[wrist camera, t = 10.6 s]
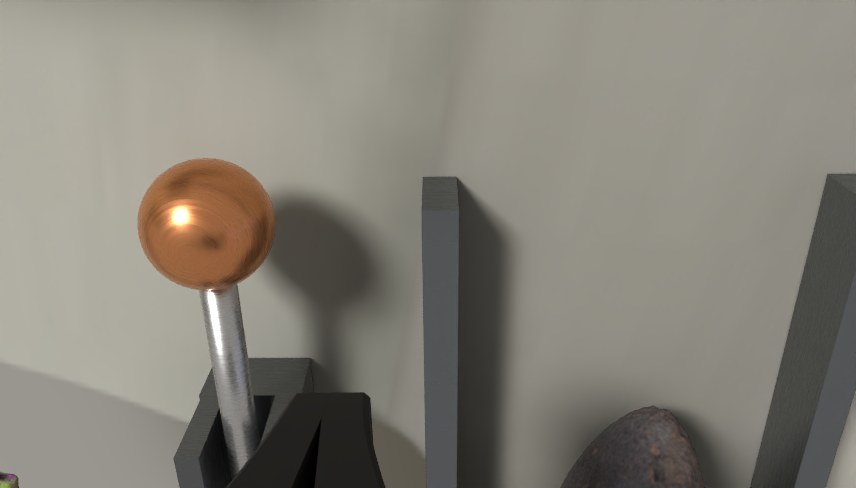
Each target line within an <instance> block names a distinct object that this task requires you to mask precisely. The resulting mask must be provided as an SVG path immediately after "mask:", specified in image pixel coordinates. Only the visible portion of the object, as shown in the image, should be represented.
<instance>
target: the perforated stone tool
mask: <svg viewBox="0 0 856 488" xmlns="http://www.w3.org/2000/svg"><path fill="white" fill-rule="evenodd" d="M561 488H705V487H704V485H703V479H702V476H701V471H700V468H699V464H698V462H697V459H696V454H695V450H694V448H692V445H691V443H690V441H689V437H688V436H687V432H685V430H684V429H683V427H682V426H681V425H680V424H679V423H678V421H677V419H676V418H674V417H673V416H672V413H671V412H670V411H668V410H665V409H663V410H662V409H659V408H656V407H654V406H652V407H644V408H641V409H639V410H635V411H633V412H630V413H628V414H627V415H625V416H624V417H622V418H620V419H619V420H618V421H616V422H614V423H613V424H612V425H610V426H609V427H608V428H607V429H605V430H604V431H603V432H602V433H601V434H600V435H599V436H598V437H597V438H596V439H595V440H594V441H593V442H592V443H591V444H590V446H588V447H587V449H586V450H585V451H584V452H583V454H582V455H581V456H580V458H579V459H578V460H577V462H576V463H575V464H574V466H573V467H572V469H571V470H570V472H569V473H568V475H567V477H566V478H565V480H564V482H563V484H562V486H561Z"/></svg>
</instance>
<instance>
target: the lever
mask: <svg viewBox="0 0 856 488" xmlns="http://www.w3.org/2000/svg"><path fill="white" fill-rule="evenodd" d="M138 234H139V239H140V242H141V246H142V248H143V251H144V253H145V255H146V256H147V258H148V260H149V261H150V262H151V264H152V265H153V266H154V267H155V268H156V269H157V270H158V271H159V272H160V273H161V274H162V275H164V276H165V277H166V278H168V279H169V280H171V281H173V282H175V283H177V284H179V285H181V286H184V287H188V288H191V289H197V290H199V292H200V298H201V304H202V310H203V316H204V321H205V327H206V333H207V339H208V345H209V350H210V356H211V362H212V368H213V373H214V379H215V385H216V391H217V397H218V402H219V408H220V414H221V420H222V426H223V431H224V437H225V443H226V449H227V455H228V460H229V466H230V472H231V478H232V480H233V479H234V477H235V476H236V475H237V474H238V472H239V471H240V470H241V469H242V467H243V466H244V465H245V463H246V462H247V461H248V460H249V458H250V457H251V456H252V454H253V453H254V452H255V450H256V449H257V448H258V447H259V445H260V437H259V430H258V423H257V416H256V409H255V403H254V396H253V389H252V382H251V375H250V368H249V361H248V354H247V348H246V341H245V334H244V327H243V320H242V313H241V306H240V299H239V293H238V286H237V283H239V282H241V281H243V280H245V279H246V278H248V277H249V276H250V275H252V274H253V273H254V272H255V271H256V270H257V269H258V268H259V267H260V266H261V265H262V263H263V262H264V260H265V259H266V257H267V255H268V254H269V252H270V249H271V247H272V244H273V240H274V236H275V214H274V209H273V206H272V203H271V200H270V198H269V196H268V194H267V192H266V191H265V189H264V188H263V186H262V185H261V184H260V183H259V181H258V180H257V179H256V178H255V177H254V176H253V175H251V174H250V173H249V172H247V171H246V170H244V169H243V168H241V167H239V166H237V165H235V164H233V163H230V162H227V161H224V160H219V159H209V158H203V159H193V160H188V161H185V162H182V163H180V164H177V165H175V166H173V167H171V168H169V169H168V170H166V171H165V172H164V173H162V174H161V175H160V176H159V177H158V178H157V179H156V180H155V181H154V182H153V183H152V184H151V186H150V187H149V189H148V190H147V191H146V193H145V195H144V197H143V200H142V202H141V205H140V208H139V214H138Z"/></svg>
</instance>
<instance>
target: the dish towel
mask: <svg viewBox="0 0 856 488" xmlns="http://www.w3.org/2000/svg"><path fill="white" fill-rule="evenodd" d="M0 488H19V486H18V477H17V476H16V475H15V474H8V473H3V472H0Z"/></svg>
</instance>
